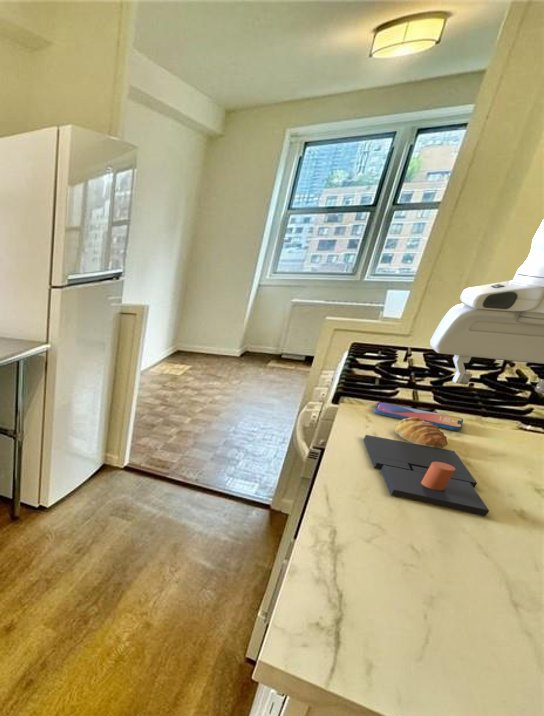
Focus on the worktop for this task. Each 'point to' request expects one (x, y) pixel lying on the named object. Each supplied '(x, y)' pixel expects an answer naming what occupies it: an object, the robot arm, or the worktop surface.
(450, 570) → the worktop surface
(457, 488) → the tab pad
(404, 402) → the worktop surface
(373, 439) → the notch pad
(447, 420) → the smartphone
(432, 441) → the pastry
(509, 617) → the worktop surface
